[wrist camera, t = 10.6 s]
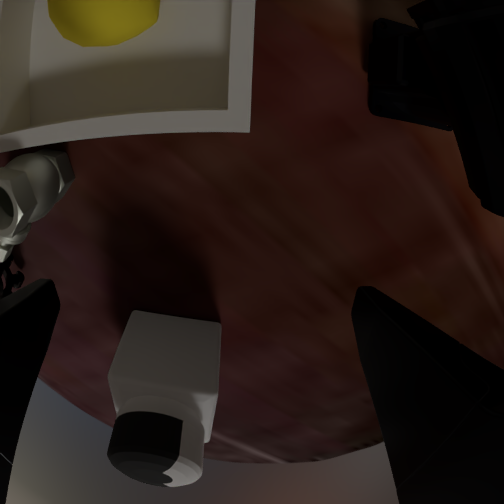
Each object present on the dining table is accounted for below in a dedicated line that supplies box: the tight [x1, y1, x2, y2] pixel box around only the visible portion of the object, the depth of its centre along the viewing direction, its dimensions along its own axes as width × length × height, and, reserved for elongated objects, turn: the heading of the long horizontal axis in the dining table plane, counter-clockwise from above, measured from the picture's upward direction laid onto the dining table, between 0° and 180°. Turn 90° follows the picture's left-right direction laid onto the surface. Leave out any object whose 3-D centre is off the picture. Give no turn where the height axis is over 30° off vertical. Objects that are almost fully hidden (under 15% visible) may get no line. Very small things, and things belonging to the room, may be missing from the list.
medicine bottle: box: [107, 310, 221, 487], centre depth 20 cm, size 7×7×12 cm
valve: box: [0, 148, 75, 300], centre depth 17 cm, size 7×7×12 cm
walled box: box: [0, 0, 255, 153], centre depth 12 cm, size 15×15×4 cm
